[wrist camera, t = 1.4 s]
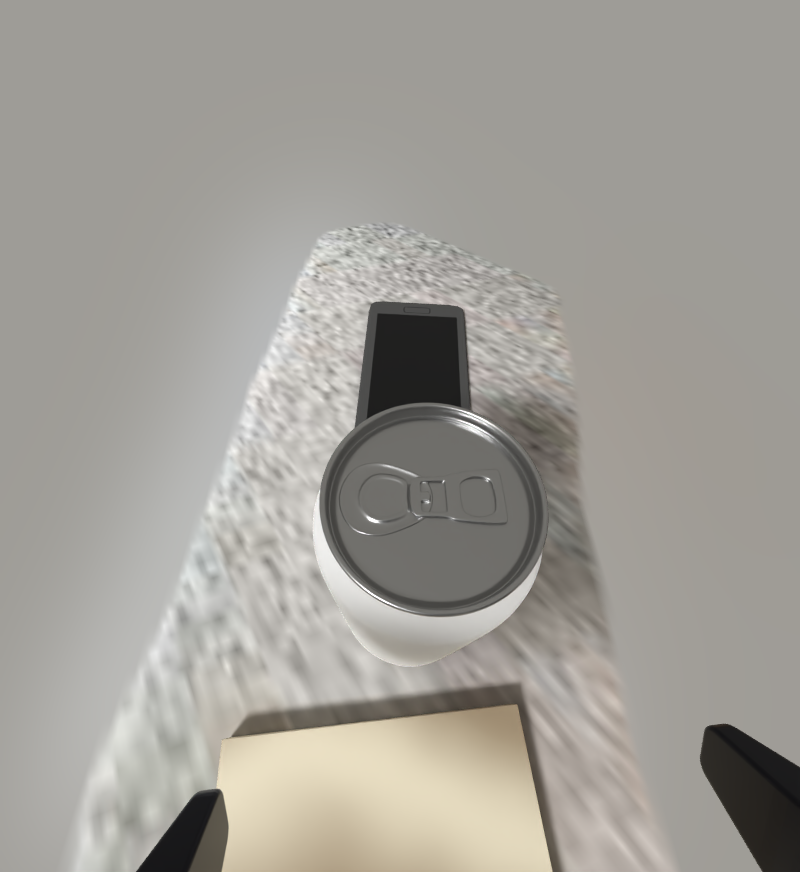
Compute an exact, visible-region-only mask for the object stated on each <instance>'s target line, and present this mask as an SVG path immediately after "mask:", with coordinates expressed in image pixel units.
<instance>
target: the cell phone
mask: <svg viewBox="0 0 800 872" xmlns="http://www.w3.org/2000/svg"><path fill="white" fill-rule="evenodd" d="M413 403H441V404H448V405H453V406H457V407H461V408H464V409H467V410H470V398H469V383H468V369H467V354H466V339H465V324H464V314H463V310H462V308H460V307H458V306H451V305H437V304H418V303H400V302H375V303H373V304H371V307H370V310H369V316H368V324H367V332H366V341H365V349H364V357H363V365H362V373H361V382H360V390H359V398H358V406H357V414H356V423H355V428H356V427H357V426H358V425H359V424H361V423H362V422H364V421H365V420H367V419H368V418H370V417H372V416H374V415H376V414H378V413H380V412H382V411H385V410H387V409H390V408H394V407H397V406H401V405H406V404H413Z"/></svg>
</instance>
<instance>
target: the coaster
mask: <svg viewBox="0 0 800 872" xmlns="http://www.w3.org/2000/svg"><path fill="white" fill-rule="evenodd" d="M216 789H220V790H221V791H222V792H223V796H224V801H225V806H226V812H227V817H228V823H229V832H228V840H227V846H226V851H225V857H224V862H223V867H222V872H552V867H551V862H550V857H549V853H548V848H547V843H546V838H545V834H544V829H543V824H542V819H541V815H540V810H539V805H538V800H537V796H536V791H535V786H534V781H533V777H532V772H531V767H530V762H529V758H528V753H527V748H526V743H525V739H524V734H523V729H522V724H521V720H520V715H519V710H518V705H517V704H505V705H497V706H489V707H480V708H472V709H463V710H455V711H447V712H438V713H430V714H421V715H413V716H405V717H396V718H388V719H380V720H371V721H363V722H354V723H346V724H338V725H329V726H321V727H313V728H304V729H296V730H287V731H279V732H271V733H262V734H254V735H246V736H237V737H230V738H226V739H223V740H222V744H221V753H220V762H219V770H218V779H217V788H216Z"/></svg>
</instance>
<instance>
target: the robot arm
mask: <svg viewBox="0 0 800 872" xmlns="http://www.w3.org/2000/svg"><path fill="white" fill-rule="evenodd" d="M700 762H701V766H702V769H703V771H704V774H705V775H706V777H707V779H708V781H709V782H710V784H711V786H712V787H713V789H714V791H715V792H716V794H717V796H718V798H719V799H720V801H721V803H722V804H723V806H724V808H725V809H726V811H727V813H728V814H729V816H730V818H731V820H732V821H733V823H734V825H735V826H736V828H737V830H738V831H739V833H740V835H741V836H742V838H743V840H744V842H745V843H746V845H747V847H748V848H749V850H750V852H751V853H752V855H753V857H754V858H755V860H756V862H757V864H758V865H759V867H760V868H761V870H762V872H800V767H799V766H797V765H795V764H794V763H792V762H790V761H789V760H787V759H786V758H784V757H782V756H781V755H779V754H777V753H776V752H774V751H772V750H771V749H769V748H768V747H766V746H764V745H763V744H761V743H760V742H758V741H756V740H755V739H753V738H752V737H750V736H748V735H747V734H745V733H744V732H742V731H740V730H739V729H737V728H735V727H733V726H731V725H728V724H718V725H710V726H707V727H706V728H705V731H704V736H703V742H702V748H701V754H700ZM228 832H229V823H228V817H227V812H226V806H225V801H224V796H223V792H222V791H221V790H220V789H211V790H203V791H199V792H197V793H196V794H195V795H194V796H193V797H192V798H191V799H190V801H189V802H188V803H187V805H186V806H185V807H184V809H183V810H182V811H181V813H180V814H179V815H178V817H177V818H176V819H175V821H174V822H173V823H172V825H171V826H170V827H169V829H168V830H167V831H166V833H165V834H164V835H163V837H162V838H161V839H160V841H159V842H158V843H157V845H156V846H155V847H154V849H153V850H152V851H151V853H150V854H149V855H148V857H147V858H146V859H145V861H144V862H143V863H142V865H141V866H140V867H139V869H138V870H137V871H136V872H222V867H223V862H224V857H225V851H226V846H227V840H228Z"/></svg>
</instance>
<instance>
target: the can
mask: <svg viewBox="0 0 800 872" xmlns="http://www.w3.org/2000/svg"><path fill="white" fill-rule="evenodd" d="M547 530H548V502H547V496H546V492H545V488H544V485H543V482H542V479H541V477H540V474H539V472H538V470H537V468H536V466H535V464H534V463H533V461H532V459H531V458H530V456H529V455H528V453H527V452H526V451H525V450H524V448H523V447H522V446H521V445H520V444H519V443H518V441H517V440H516V439H515V438H514V437H513V436H511V435H510V434H509V433H508V432H507V431H506V430H504V429H503V428H502V427H500V426H499V425H498V424H496V423H494V422H493V421H491V420H490V419H488V418H486V417H484V416H482V415H480V414H478V413H475V412H473V411H470V410H467V409H464V408H461V407H457V406H453V405H448V404H441V403H413V404H406V405H401V406H397V407H394V408H390V409H387V410H385V411H382V412H380V413H378V414H376V415H374V416H372V417H370V418H368V419H367V420H365V421H364V422H362V423H361V424H359V425H358V426H357V427H356V428H354V429H353V430H352V431H351V432H350V433H349V434H348V435H347V436H346V437H345V438H344V439H343V440H342V441H341V443H340V444H339V445H338V447H337V448H336V450H335V451H334V453H333V454H332V456H331V458H330V460H329V462H328V464H327V467H326V469H325V472H324V475H323V479H322V483H321V488H320V490H319V493H318V496H317V499H316V503H315V508H314V514H313V541H314V548H315V554H316V558H317V561H318V565H319V567H320V570H321V573H322V575H323V578H324V580H325V582H326V584H327V587H328V589H329V591H330V593H331V595H332V597H333V598H334V600H335V602H336V604H337V606H338V608H339V610H340V612H341V613H342V615H343V617H344V619H345V621H346V622H347V624H348V626H349V628H350V629H351V631H352V633H353V634H354V636H355V637H356V638H357V640H358V641H359V642H360V643H361V645H362V646H363V647H364V648H365V649H366V650H368V651H369V652H370V653H371V654H373V655H374V656H376V657H377V658H379V659H381V660H383V661H385V662H388V663H390V664H394V665H398V666H406V667H414V666H422V665H426V664H430V663H433V662H435V661H438V660H440V659H442V658H444V657H446V656H448V655H450V654H452V653H454V652H455V651H457V650H459V649H461V648H463V647H465V646H466V645H468V644H470V643H472V642H474V641H475V640H477V639H479V638H481V637H482V636H484V635H486V634H487V633H489V632H490V631H492V630H493V629H495V628H496V627H497V626H499V625H500V624H501V623H503V622H504V621H505V620H506V619H507V618H508V617H509V616H510V615H511V614H512V613H513V612H514V611H515V610H516V609H517V608H518V606H519V605H520V604H521V603H522V601H523V600H524V599H525V597H526V596H527V594H528V592H529V591H530V589H531V587H532V585H533V583H534V581H535V578H536V576H537V573H538V570H539V567H540V563H541V558H542V552H543V547H544V544H545V540H546V536H547Z"/></svg>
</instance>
